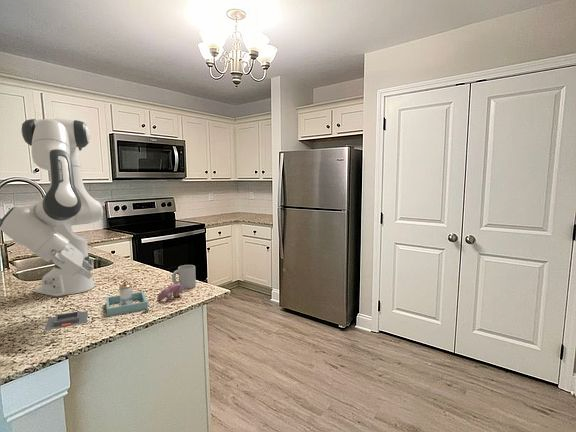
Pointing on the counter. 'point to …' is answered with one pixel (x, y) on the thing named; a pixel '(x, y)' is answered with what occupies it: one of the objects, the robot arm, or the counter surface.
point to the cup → (185, 276)
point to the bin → (127, 308)
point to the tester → (66, 320)
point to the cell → (125, 294)
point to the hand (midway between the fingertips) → (91, 273)
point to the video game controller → (171, 291)
